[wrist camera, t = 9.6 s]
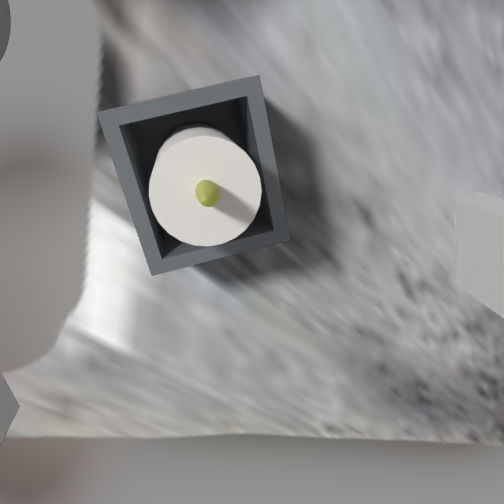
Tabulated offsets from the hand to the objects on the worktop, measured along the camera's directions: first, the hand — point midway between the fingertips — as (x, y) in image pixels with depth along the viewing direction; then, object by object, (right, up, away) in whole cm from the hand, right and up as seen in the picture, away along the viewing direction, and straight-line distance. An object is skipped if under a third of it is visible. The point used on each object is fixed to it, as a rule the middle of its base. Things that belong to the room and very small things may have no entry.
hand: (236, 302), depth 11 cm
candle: (-4, +8, +22) cm, 24 cm away
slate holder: (-4, +9, +22) cm, 24 cm away
